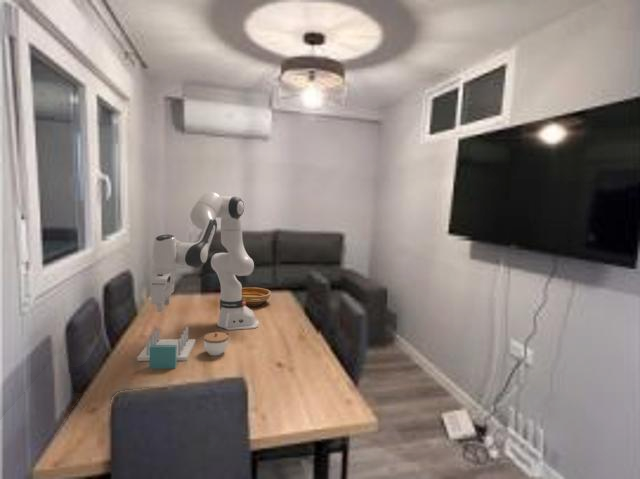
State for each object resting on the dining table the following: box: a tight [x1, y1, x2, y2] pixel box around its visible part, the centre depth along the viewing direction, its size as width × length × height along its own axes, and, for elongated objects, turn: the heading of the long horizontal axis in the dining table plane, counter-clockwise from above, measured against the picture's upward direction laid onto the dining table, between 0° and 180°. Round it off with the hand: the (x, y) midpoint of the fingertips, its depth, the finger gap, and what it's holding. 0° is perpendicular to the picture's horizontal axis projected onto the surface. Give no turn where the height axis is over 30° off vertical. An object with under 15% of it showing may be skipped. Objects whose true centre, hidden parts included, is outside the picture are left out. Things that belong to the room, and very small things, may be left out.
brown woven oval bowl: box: [242, 287, 272, 307], centre depth 252 cm, size 30×24×8 cm
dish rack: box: [136, 326, 196, 362], centre depth 172 cm, size 20×20×8 cm
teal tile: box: [149, 345, 178, 370], centre depth 157 cm, size 10×2×9 cm, turn 98°
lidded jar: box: [203, 331, 229, 357], centre depth 173 cm, size 11×11×9 cm
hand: (163, 308), depth 157 cm, fingers open, 8 cm apart
